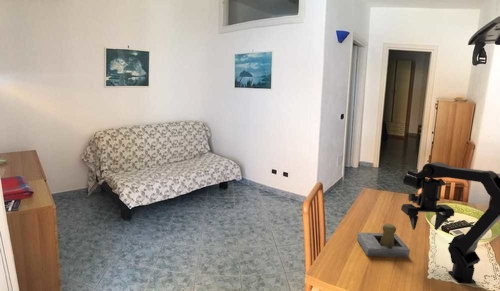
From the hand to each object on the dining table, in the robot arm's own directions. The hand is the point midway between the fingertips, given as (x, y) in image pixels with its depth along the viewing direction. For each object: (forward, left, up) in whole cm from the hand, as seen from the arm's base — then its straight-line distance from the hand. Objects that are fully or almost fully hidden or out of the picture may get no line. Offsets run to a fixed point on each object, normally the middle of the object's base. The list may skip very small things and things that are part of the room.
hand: (424, 229), depth 128 cm
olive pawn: (+5, +12, -12) cm, 18 cm away
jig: (+5, +14, -12) cm, 19 cm away
